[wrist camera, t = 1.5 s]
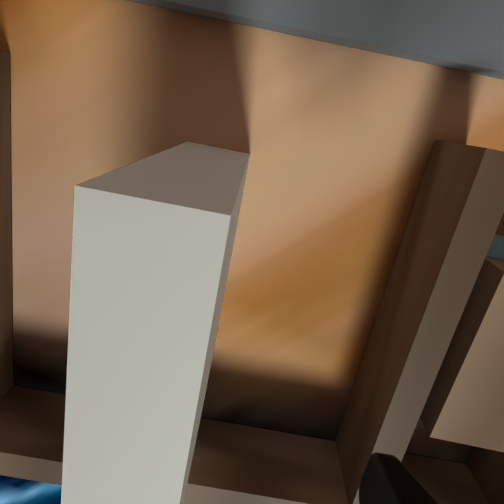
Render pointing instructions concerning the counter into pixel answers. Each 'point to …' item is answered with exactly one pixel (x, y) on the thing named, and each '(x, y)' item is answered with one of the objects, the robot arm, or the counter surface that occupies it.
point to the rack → (368, 378)
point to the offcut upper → (473, 370)
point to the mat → (378, 26)
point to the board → (145, 320)
